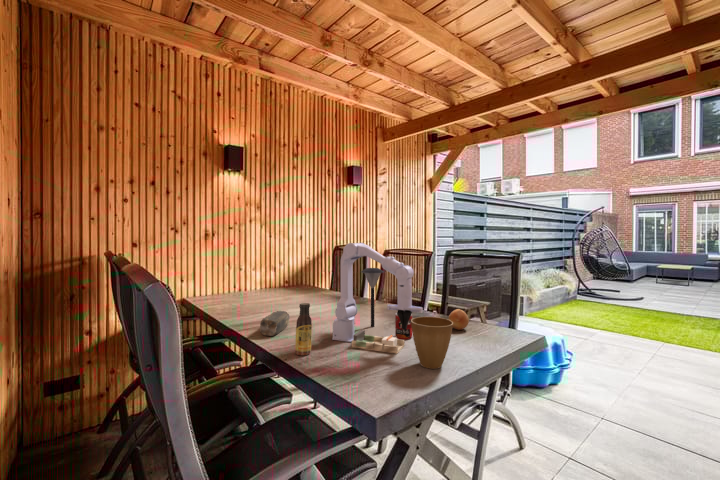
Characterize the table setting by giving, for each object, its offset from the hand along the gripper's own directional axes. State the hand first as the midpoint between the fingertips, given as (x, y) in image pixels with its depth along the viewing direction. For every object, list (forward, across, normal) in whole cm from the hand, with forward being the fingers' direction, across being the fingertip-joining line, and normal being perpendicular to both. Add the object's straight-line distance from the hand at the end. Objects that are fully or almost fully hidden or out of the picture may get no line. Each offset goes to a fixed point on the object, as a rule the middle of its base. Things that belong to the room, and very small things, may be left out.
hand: (404, 328), depth 138 cm
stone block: (+9, -66, +1) cm, 67 cm away
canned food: (+9, -6, +17) cm, 20 cm away
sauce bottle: (+9, -36, -20) cm, 42 cm away
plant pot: (+9, +13, -11) cm, 20 cm away
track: (+9, -12, 0) cm, 15 cm away
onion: (+9, +15, +41) cm, 45 cm away
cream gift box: (+8, -7, 0) cm, 10 cm away
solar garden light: (+9, -26, +28) cm, 39 cm away
